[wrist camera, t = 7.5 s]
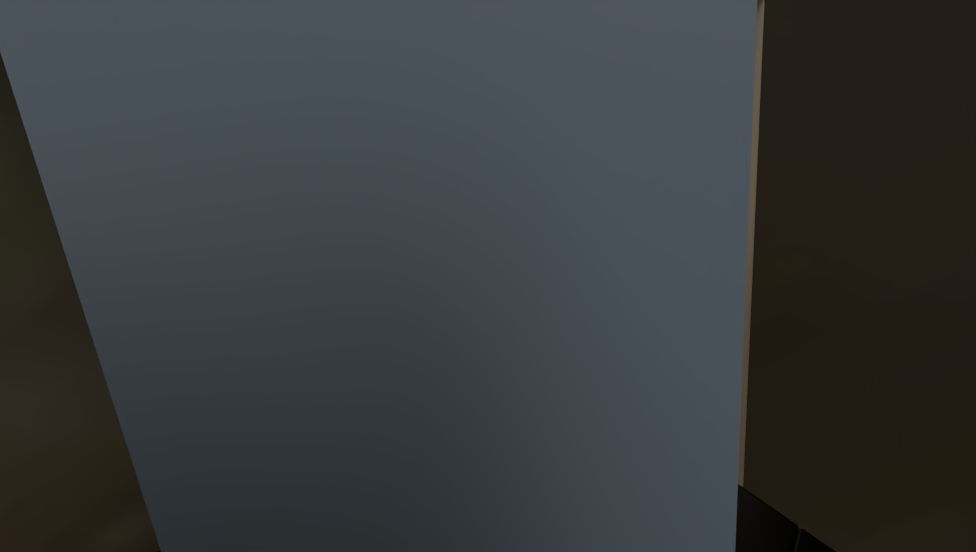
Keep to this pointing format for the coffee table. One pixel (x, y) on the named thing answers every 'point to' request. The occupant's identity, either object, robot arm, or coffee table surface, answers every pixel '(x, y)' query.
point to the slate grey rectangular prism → (407, 262)
